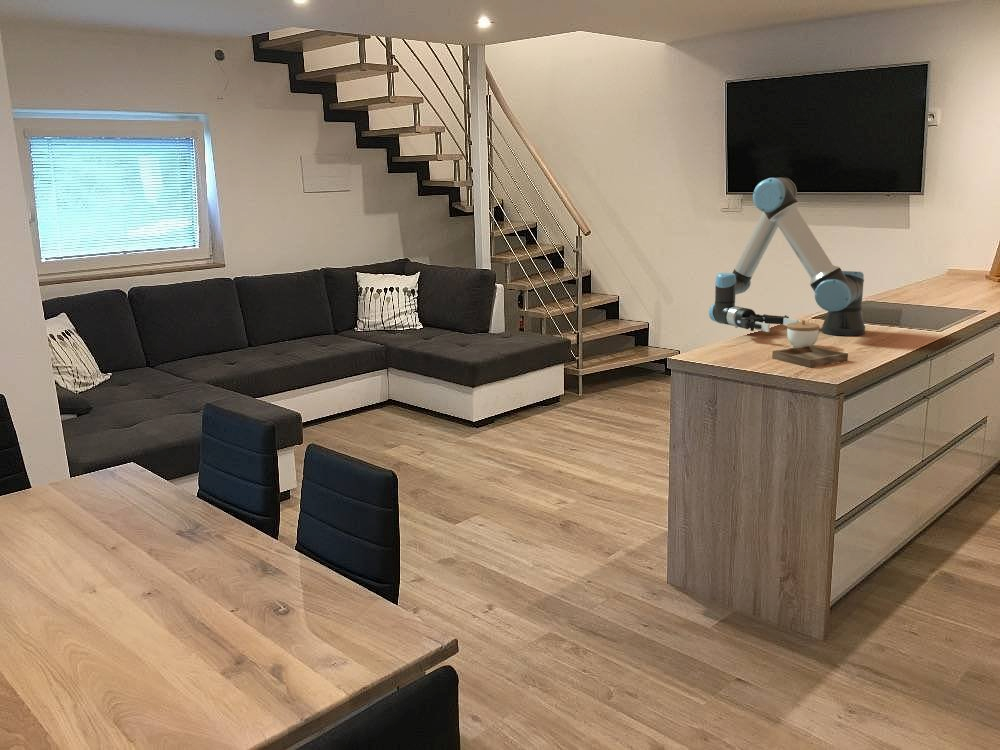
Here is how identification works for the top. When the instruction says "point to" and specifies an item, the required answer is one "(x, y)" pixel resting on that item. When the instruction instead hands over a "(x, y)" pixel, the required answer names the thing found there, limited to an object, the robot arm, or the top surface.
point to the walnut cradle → (809, 356)
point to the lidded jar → (802, 333)
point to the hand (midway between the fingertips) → (783, 326)
